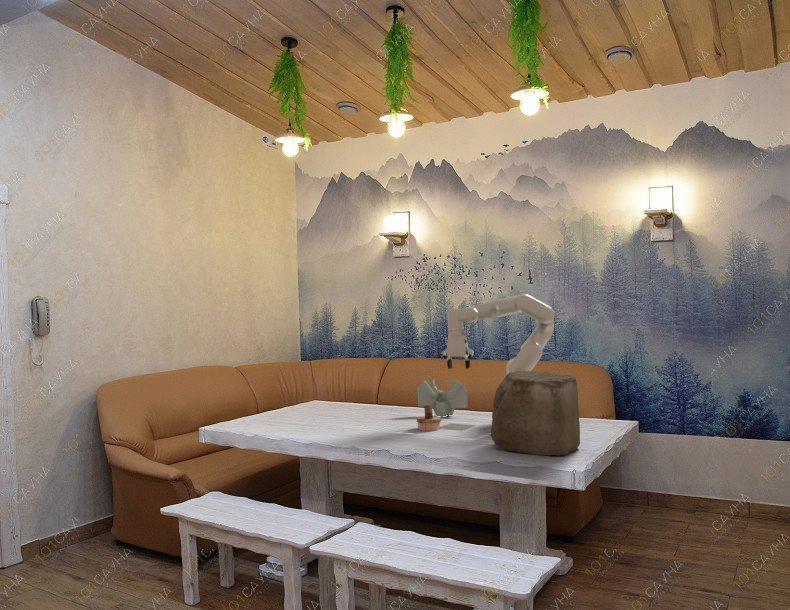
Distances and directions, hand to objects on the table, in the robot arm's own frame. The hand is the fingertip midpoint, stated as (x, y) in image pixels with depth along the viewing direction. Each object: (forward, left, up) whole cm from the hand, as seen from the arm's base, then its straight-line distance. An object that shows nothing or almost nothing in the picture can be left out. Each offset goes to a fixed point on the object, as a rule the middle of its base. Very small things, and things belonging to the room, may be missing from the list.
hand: (458, 368), depth 313 cm
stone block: (-52, +35, -28) cm, 69 cm away
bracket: (+20, -16, -28) cm, 38 cm away
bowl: (+6, +20, -27) cm, 34 cm away
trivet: (-3, +10, -27) cm, 29 cm away
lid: (+6, +20, -23) cm, 31 cm away
